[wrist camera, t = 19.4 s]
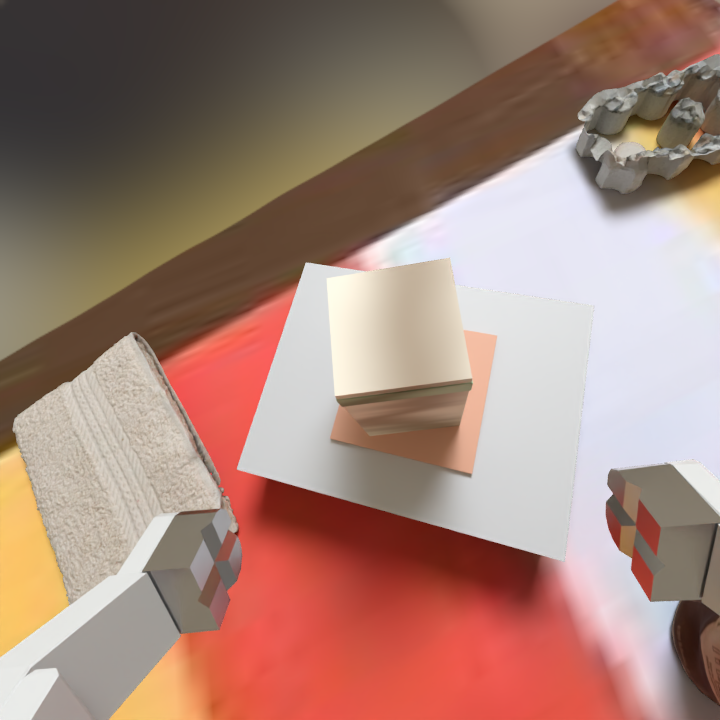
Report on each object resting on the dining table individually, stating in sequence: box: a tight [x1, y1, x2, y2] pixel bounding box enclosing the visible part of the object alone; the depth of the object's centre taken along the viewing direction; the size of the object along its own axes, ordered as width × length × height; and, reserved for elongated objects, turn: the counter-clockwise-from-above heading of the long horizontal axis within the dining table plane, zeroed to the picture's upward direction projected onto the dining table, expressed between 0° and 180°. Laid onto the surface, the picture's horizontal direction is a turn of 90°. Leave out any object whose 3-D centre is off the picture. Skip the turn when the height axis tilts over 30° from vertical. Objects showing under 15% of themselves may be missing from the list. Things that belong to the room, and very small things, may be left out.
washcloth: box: [13, 332, 238, 605], centre depth 31 cm, size 12×18×3 cm, turn 36°
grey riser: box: [237, 263, 594, 562], centre depth 27 cm, size 18×14×5 cm
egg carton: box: [576, 54, 720, 194], centre depth 32 cm, size 11×8×4 cm
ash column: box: [326, 258, 473, 436], centre depth 21 cm, size 5×5×9 cm
